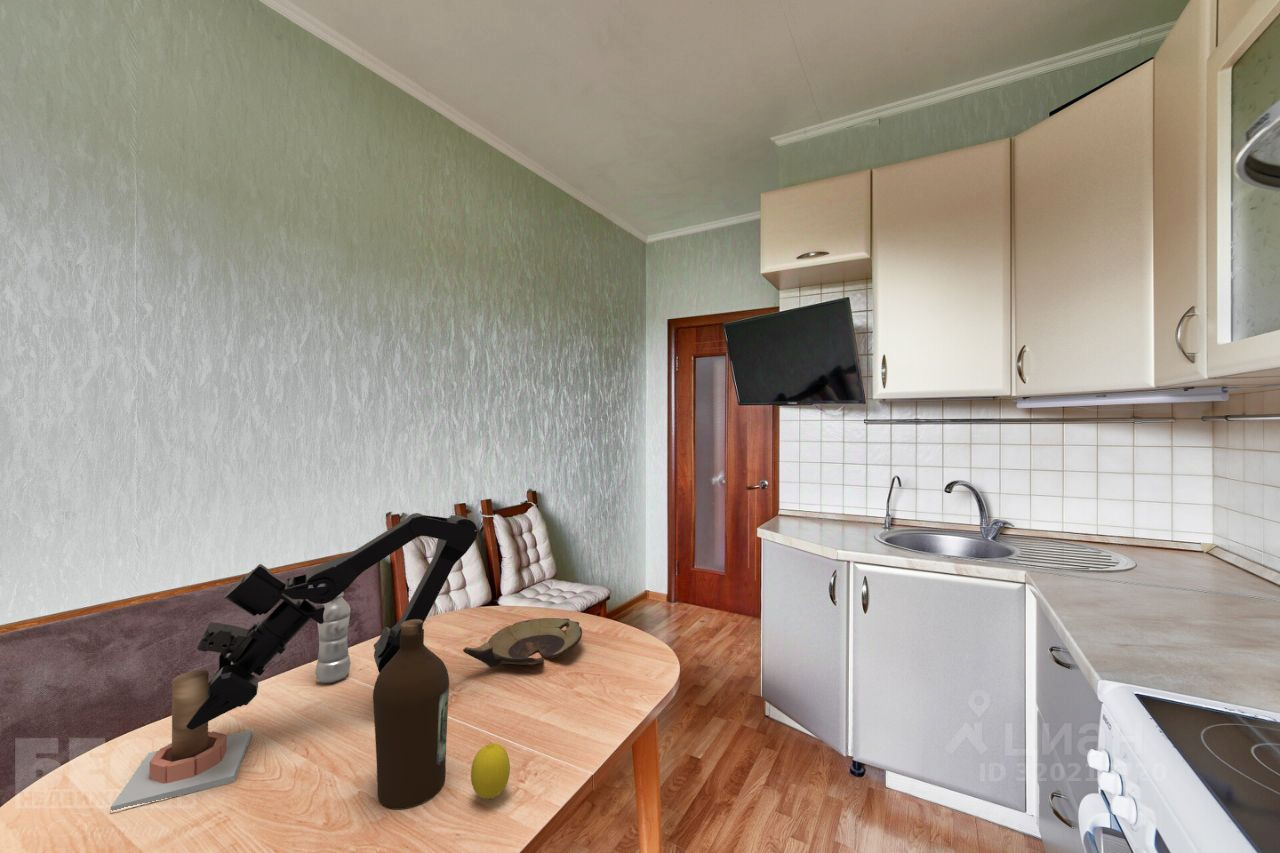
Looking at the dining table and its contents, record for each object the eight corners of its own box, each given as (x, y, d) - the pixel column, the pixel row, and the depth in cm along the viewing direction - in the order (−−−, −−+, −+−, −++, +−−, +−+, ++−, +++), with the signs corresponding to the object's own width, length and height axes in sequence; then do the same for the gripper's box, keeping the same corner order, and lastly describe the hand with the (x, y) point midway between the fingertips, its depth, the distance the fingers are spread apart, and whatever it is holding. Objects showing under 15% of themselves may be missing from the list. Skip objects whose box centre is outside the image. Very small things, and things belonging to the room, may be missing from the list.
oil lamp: (599, 662, 120) (599, 629, 120) (467, 693, 106) (466, 656, 106) (567, 630, 140) (567, 602, 140) (451, 653, 126) (451, 621, 126)
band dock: (252, 735, 92) (252, 715, 92) (233, 781, 79) (233, 759, 79) (148, 758, 85) (148, 737, 85) (110, 813, 73) (110, 789, 73)
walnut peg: (215, 755, 84) (215, 669, 85) (191, 772, 80) (192, 682, 80) (188, 755, 84) (189, 670, 85) (163, 772, 80) (164, 683, 80)
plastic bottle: (308, 684, 110) (308, 591, 111) (337, 670, 117) (337, 582, 117) (329, 689, 108) (329, 594, 108) (357, 675, 114) (357, 585, 115)
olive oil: (368, 821, 71) (368, 640, 71) (377, 774, 81) (377, 615, 81) (449, 801, 75) (449, 629, 75) (449, 758, 85) (448, 607, 85)
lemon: (475, 786, 78) (475, 733, 78) (512, 784, 78) (512, 731, 78) (466, 813, 72) (466, 756, 72) (506, 810, 73) (506, 754, 73)
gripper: (240, 590, 93) (159, 667, 87) (228, 621, 78) (128, 717, 72) (292, 623, 98) (219, 699, 92) (291, 659, 82) (202, 753, 76)
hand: (194, 714), depth 83 cm, fingers open, 9 cm apart
